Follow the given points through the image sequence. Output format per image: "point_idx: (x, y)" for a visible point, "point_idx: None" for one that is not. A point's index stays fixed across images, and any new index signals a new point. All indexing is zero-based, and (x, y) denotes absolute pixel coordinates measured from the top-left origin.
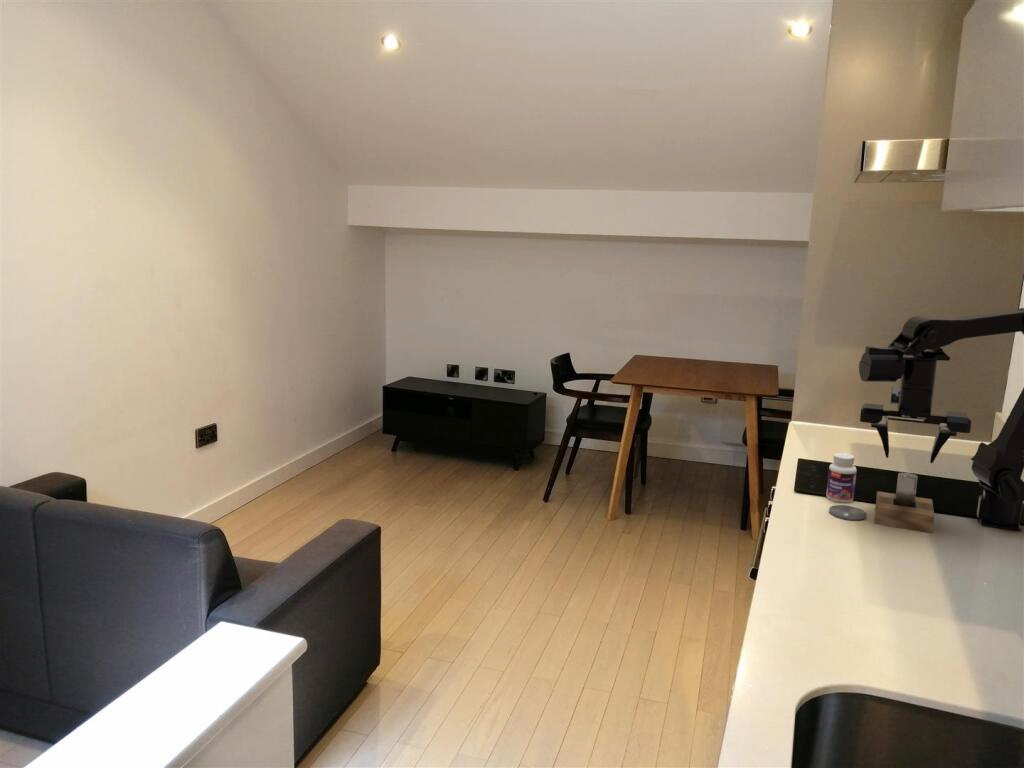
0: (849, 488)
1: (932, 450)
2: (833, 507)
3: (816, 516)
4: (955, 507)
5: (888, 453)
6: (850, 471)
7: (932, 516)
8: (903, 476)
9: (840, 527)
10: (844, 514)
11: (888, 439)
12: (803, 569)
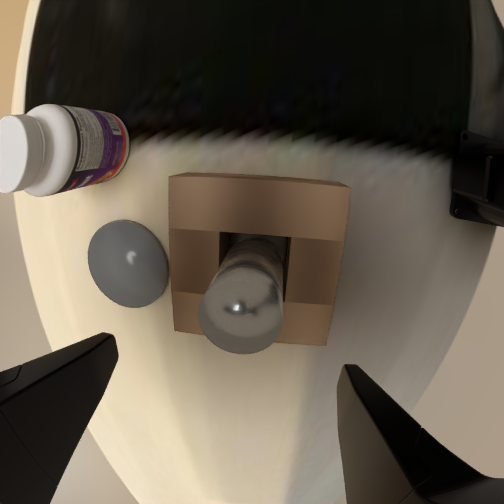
0: (95, 177)
1: (354, 439)
2: (94, 252)
3: (82, 301)
4: (412, 81)
5: (107, 381)
6: (56, 185)
7: (320, 344)
8: (220, 341)
9: (131, 347)
10: (121, 291)
11: (56, 427)
12: (136, 462)
